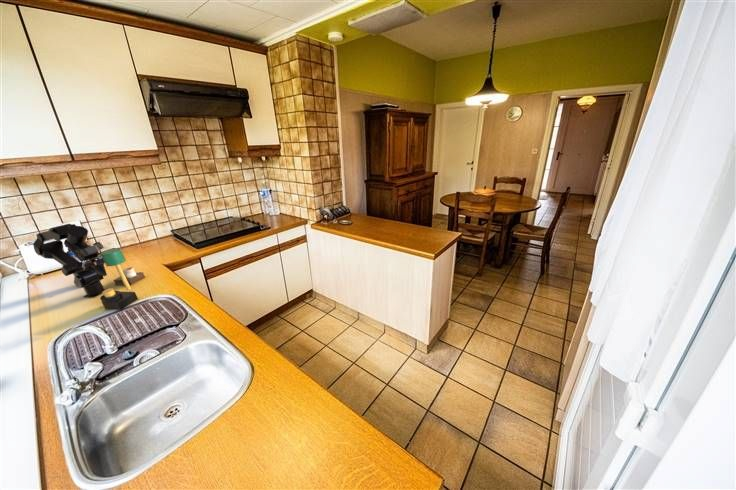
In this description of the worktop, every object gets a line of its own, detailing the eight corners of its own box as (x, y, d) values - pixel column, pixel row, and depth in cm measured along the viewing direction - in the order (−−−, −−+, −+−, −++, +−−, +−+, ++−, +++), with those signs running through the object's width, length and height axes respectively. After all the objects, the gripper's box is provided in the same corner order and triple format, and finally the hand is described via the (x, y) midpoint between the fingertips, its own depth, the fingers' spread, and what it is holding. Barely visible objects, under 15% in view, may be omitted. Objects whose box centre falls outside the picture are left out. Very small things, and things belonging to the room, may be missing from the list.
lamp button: (102, 298, 113) (100, 292, 112) (110, 293, 117) (108, 288, 116) (110, 298, 113) (107, 293, 112) (118, 293, 116) (115, 288, 115)
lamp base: (102, 310, 114) (95, 299, 112) (121, 298, 122) (115, 287, 120) (120, 311, 114) (114, 299, 111) (138, 299, 122) (132, 288, 119)
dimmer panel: (115, 285, 135) (112, 280, 134) (130, 276, 143) (128, 271, 141) (133, 285, 134) (130, 280, 132) (147, 276, 142) (145, 271, 140)
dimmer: (123, 278, 135) (119, 270, 133) (131, 273, 139) (127, 266, 137) (130, 278, 135) (127, 270, 133) (138, 273, 139) (135, 266, 137)
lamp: (115, 293, 116) (95, 254, 108) (129, 285, 122) (111, 248, 114) (128, 293, 115) (109, 254, 108) (141, 285, 121) (124, 248, 114)
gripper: (51, 248, 104) (80, 278, 105) (108, 231, 120) (132, 257, 121) (50, 261, 110) (78, 289, 111) (104, 243, 126) (128, 268, 127)
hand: (105, 275), depth 118 cm, fingers closed
